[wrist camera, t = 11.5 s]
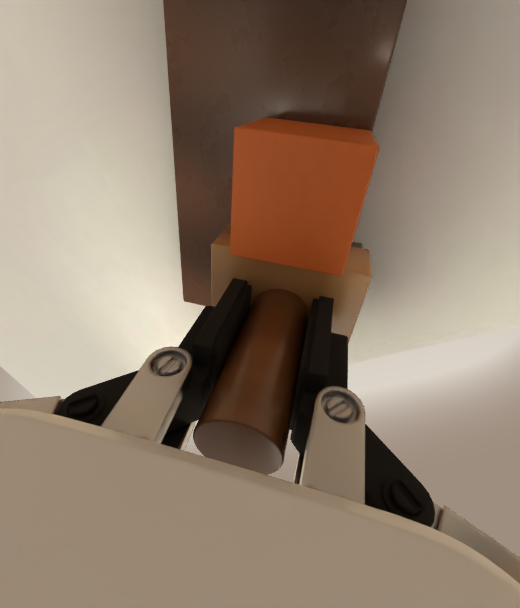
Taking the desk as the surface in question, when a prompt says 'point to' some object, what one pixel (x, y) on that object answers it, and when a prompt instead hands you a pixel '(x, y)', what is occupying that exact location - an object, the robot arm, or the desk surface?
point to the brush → (269, 352)
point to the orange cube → (298, 192)
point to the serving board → (261, 92)
